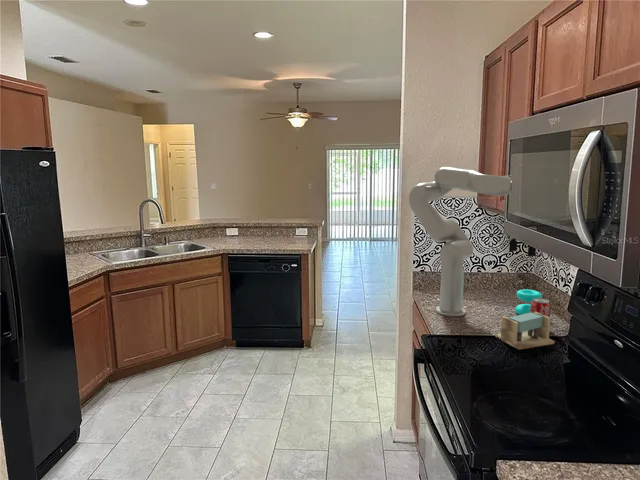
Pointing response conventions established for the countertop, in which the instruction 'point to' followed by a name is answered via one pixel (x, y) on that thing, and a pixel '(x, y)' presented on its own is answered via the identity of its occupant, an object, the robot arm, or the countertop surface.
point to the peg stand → (525, 334)
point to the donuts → (526, 296)
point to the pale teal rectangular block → (528, 321)
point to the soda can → (540, 306)
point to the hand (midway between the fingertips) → (521, 253)
